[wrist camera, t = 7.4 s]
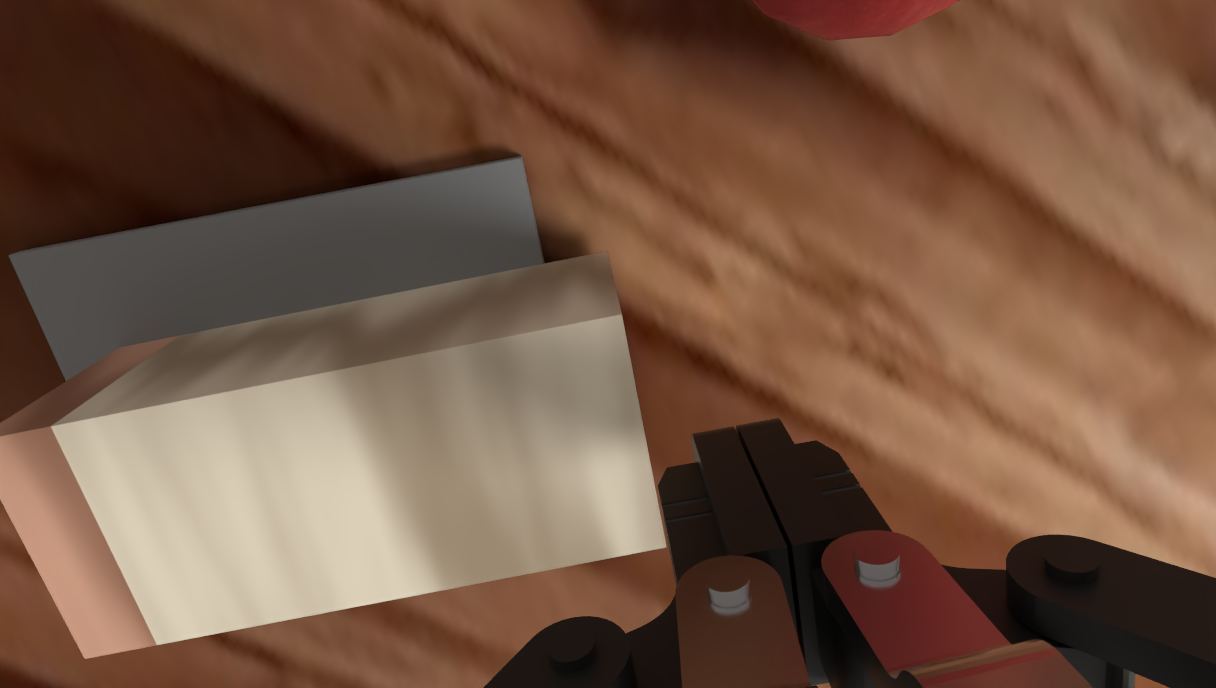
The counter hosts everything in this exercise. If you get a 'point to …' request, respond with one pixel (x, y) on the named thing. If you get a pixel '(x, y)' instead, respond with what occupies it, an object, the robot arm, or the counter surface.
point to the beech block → (336, 458)
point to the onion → (851, 15)
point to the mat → (278, 259)
